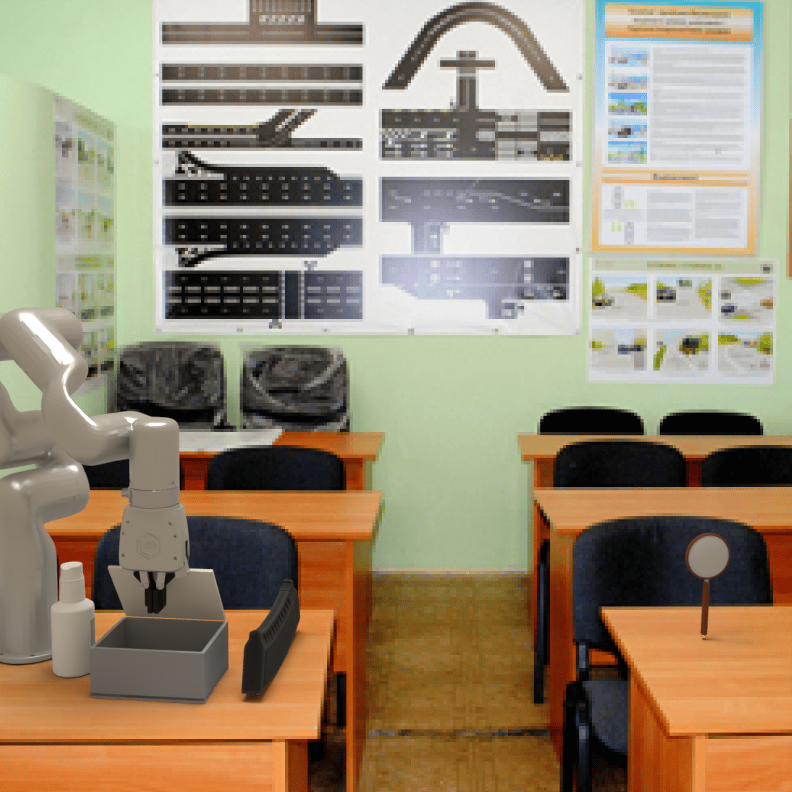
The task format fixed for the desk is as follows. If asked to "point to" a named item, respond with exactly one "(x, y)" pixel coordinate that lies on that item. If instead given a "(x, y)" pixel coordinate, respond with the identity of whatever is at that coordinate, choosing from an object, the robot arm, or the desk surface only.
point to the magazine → (270, 641)
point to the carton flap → (173, 596)
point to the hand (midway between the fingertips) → (155, 610)
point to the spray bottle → (72, 624)
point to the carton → (159, 660)
